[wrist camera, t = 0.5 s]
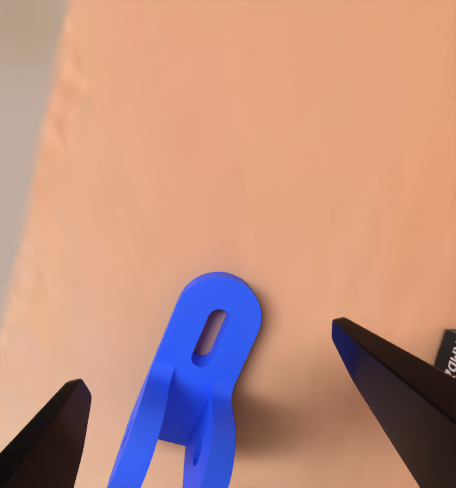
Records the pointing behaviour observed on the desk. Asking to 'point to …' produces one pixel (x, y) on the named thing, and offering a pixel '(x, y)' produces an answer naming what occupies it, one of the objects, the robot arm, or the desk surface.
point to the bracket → (193, 387)
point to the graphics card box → (448, 354)
